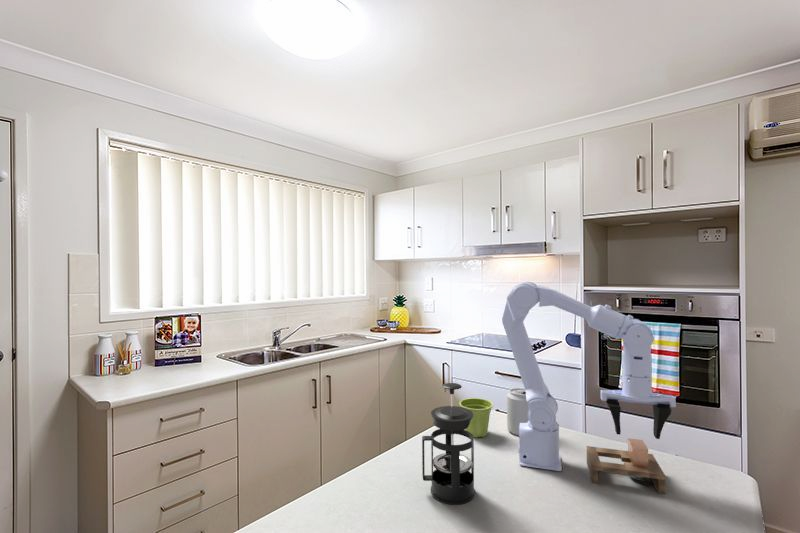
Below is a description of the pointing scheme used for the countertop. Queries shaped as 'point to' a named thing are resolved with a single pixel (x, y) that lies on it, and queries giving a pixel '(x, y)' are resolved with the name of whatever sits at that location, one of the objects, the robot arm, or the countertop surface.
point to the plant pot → (478, 415)
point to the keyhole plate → (623, 466)
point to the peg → (638, 455)
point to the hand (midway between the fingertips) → (637, 434)
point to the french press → (451, 454)
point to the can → (516, 409)
